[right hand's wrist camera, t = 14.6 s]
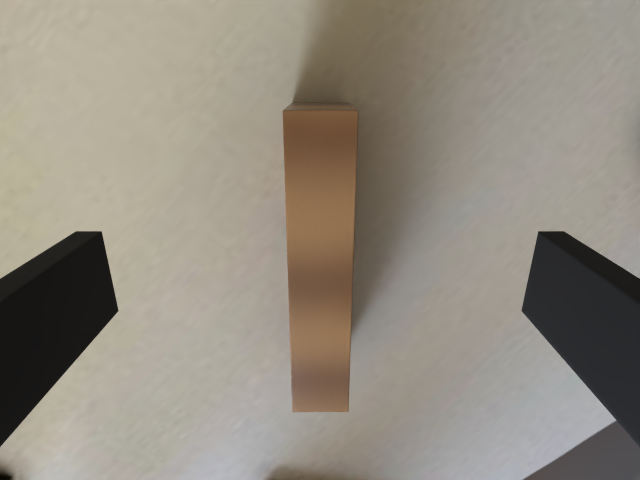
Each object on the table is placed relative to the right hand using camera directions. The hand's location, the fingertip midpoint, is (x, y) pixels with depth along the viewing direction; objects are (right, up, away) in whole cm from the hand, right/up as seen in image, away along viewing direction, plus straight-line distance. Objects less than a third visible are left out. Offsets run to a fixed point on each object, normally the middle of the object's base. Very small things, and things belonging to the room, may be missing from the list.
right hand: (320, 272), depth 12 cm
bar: (0, +1, +26) cm, 26 cm away
